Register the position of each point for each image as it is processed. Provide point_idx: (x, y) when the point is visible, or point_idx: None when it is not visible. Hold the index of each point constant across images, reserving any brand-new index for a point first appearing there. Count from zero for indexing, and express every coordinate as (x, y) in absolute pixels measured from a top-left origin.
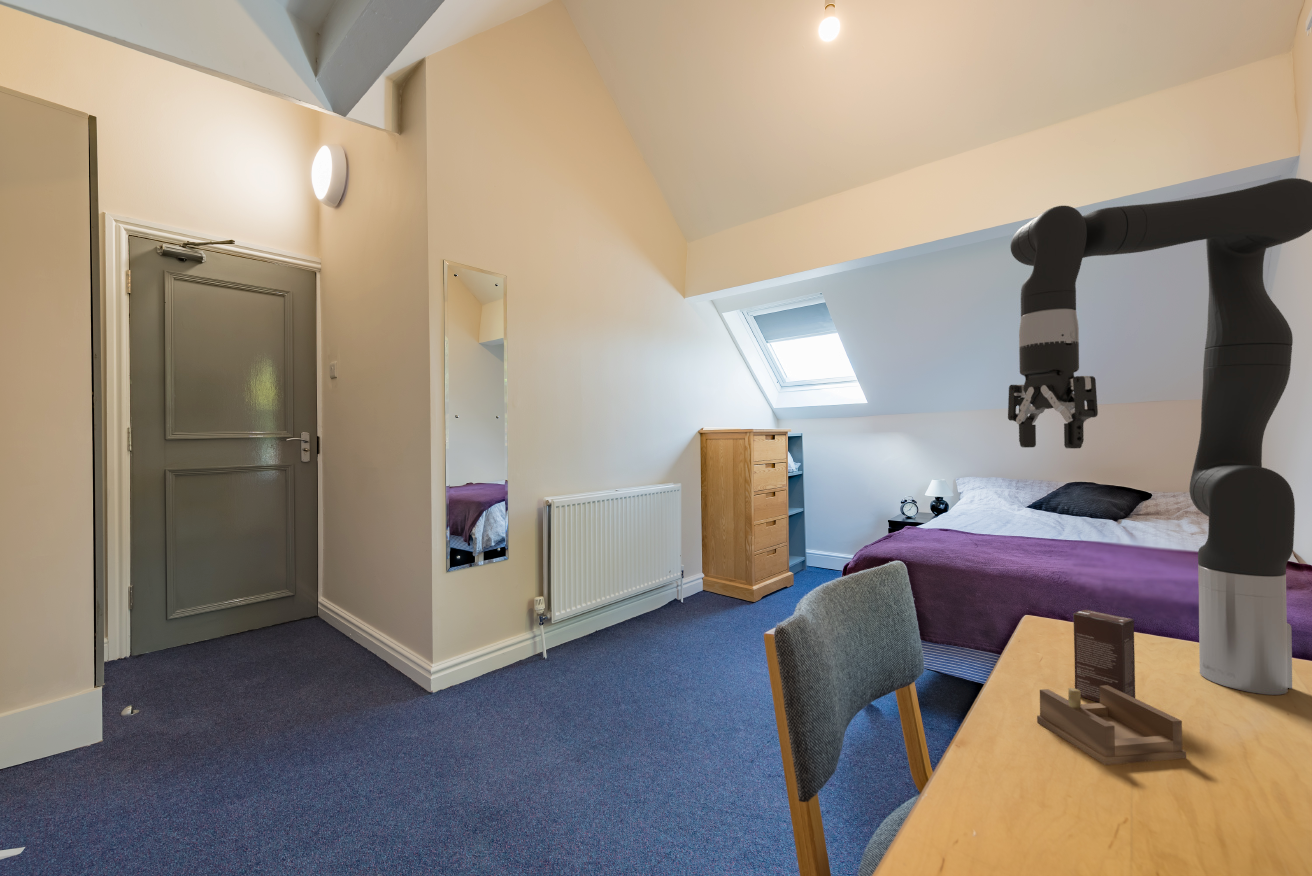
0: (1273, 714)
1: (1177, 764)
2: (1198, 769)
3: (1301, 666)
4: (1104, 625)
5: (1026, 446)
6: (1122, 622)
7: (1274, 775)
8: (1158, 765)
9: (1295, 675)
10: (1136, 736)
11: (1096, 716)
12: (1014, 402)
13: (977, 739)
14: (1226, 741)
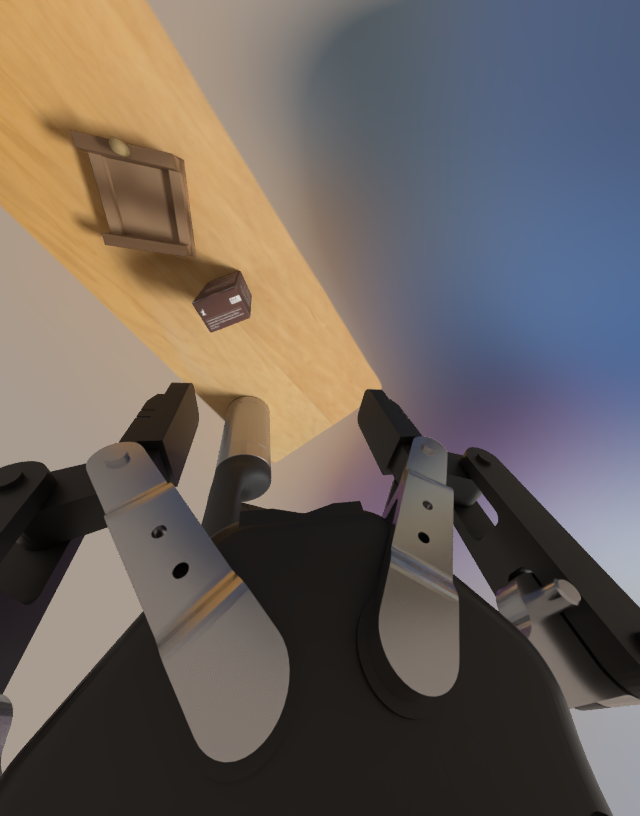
0: (202, 384)
1: None
2: None
3: None
4: (208, 295)
5: (365, 397)
6: (195, 306)
7: (106, 291)
8: None
9: None
10: (141, 227)
11: (99, 150)
12: (522, 530)
13: (136, 8)
14: (159, 313)
